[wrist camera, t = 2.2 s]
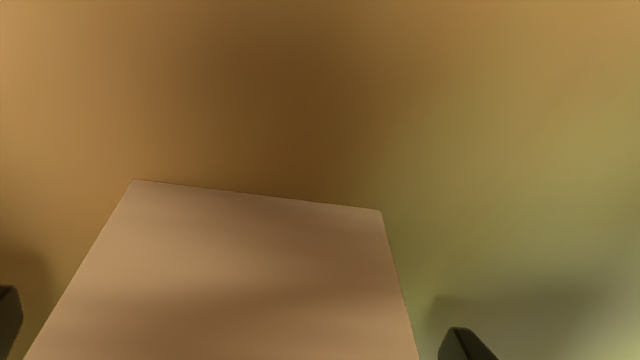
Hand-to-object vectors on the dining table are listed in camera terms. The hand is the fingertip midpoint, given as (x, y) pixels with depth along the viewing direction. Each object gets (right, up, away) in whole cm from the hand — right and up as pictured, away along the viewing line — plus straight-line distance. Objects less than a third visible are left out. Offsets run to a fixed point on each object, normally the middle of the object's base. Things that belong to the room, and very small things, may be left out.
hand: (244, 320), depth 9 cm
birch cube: (0, +1, +1) cm, 1 cm away
